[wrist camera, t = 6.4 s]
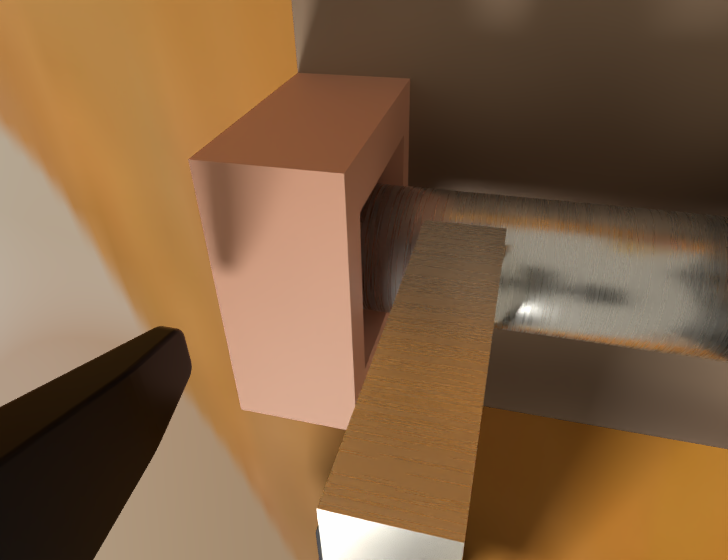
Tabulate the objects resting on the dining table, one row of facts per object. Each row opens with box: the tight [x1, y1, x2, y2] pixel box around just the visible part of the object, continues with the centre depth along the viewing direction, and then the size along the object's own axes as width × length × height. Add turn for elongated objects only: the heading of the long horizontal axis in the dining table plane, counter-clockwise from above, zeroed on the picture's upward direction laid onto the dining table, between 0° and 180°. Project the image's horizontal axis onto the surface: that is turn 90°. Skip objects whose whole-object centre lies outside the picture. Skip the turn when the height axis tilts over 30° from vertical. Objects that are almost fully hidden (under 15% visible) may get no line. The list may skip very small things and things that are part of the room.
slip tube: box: [317, 183, 728, 560], centre depth 10 cm, size 12×3×9 cm, turn 91°
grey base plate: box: [292, 0, 728, 449], centre depth 14 cm, size 14×17×1 cm
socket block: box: [188, 73, 410, 430], centre depth 13 cm, size 6×3×5 cm, turn 1°
